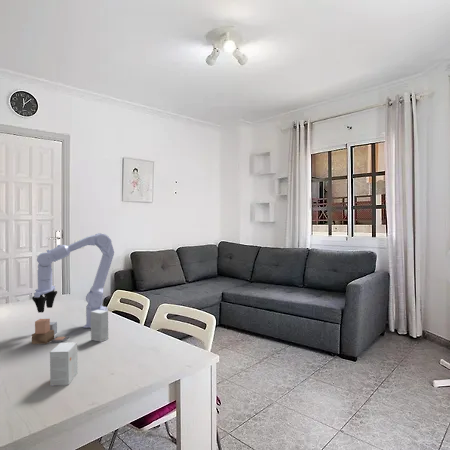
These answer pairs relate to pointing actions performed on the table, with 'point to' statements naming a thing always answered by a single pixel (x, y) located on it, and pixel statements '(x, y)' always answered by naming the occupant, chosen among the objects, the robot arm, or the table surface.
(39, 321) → the terracotta block
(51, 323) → the slate block
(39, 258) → the robot arm
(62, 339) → the tile
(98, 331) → the skincare box
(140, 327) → the table surface
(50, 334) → the walnut block
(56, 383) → the small box
